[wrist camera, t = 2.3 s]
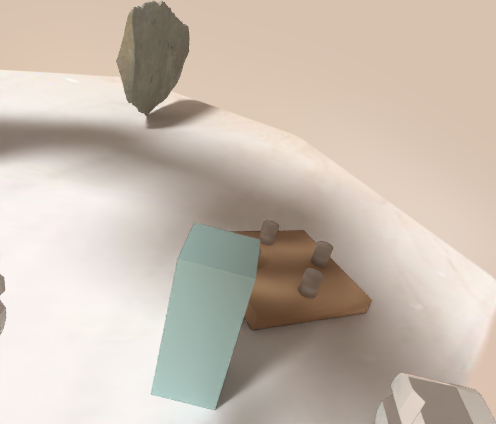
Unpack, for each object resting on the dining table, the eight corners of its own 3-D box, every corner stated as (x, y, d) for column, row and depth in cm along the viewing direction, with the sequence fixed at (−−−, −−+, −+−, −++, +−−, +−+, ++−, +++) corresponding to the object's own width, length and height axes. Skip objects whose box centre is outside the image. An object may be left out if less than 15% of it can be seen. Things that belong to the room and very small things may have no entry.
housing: (202, 244, 40) (209, 214, 39) (299, 241, 46) (309, 215, 44) (251, 330, 31) (263, 294, 29) (365, 312, 37) (380, 282, 35)
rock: (154, 99, 89) (167, 1, 80) (181, 106, 89) (197, 9, 80) (101, 125, 65) (113, -11, 56) (138, 135, 65) (155, 0, 56)
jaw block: (214, 410, 24) (255, 278, 20) (150, 394, 24) (177, 258, 20) (224, 360, 28) (260, 239, 23) (168, 346, 28) (194, 222, 23)
